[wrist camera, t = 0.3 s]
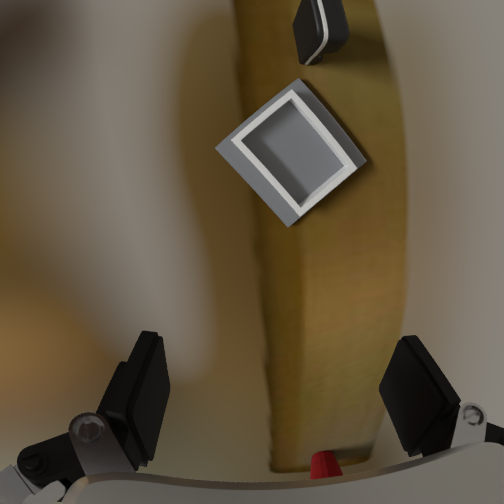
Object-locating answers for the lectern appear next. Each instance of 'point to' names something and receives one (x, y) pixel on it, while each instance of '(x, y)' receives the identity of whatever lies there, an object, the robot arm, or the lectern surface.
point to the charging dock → (292, 152)
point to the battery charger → (319, 29)
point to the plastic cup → (324, 465)
